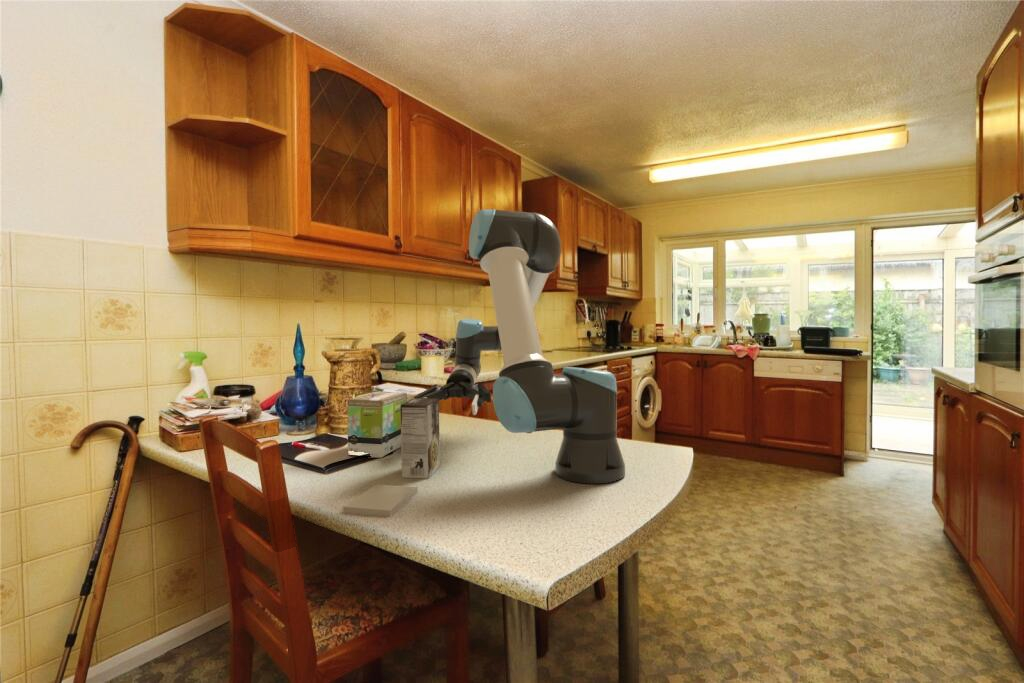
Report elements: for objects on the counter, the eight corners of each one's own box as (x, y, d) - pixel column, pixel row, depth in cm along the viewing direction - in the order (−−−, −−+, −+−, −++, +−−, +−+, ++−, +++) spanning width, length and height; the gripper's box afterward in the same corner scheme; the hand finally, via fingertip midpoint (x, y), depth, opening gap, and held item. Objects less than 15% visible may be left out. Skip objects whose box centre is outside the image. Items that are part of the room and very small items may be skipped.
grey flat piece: (417, 487, 96) (390, 510, 84) (417, 495, 96) (390, 519, 84) (375, 484, 98) (343, 506, 86) (375, 492, 98) (343, 515, 86)
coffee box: (414, 465, 114) (413, 397, 114) (440, 466, 114) (439, 397, 113) (400, 478, 105) (399, 403, 105) (429, 478, 104) (428, 404, 104)
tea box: (383, 458, 121) (382, 399, 120) (346, 456, 123) (345, 398, 122) (408, 443, 135) (407, 390, 135) (375, 442, 137) (373, 390, 137)
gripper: (505, 391, 139) (498, 422, 119) (420, 395, 142) (399, 427, 121) (503, 366, 137) (495, 394, 117) (417, 371, 140) (394, 399, 119)
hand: (446, 411), depth 119 cm, fingers open, 13 cm apart
